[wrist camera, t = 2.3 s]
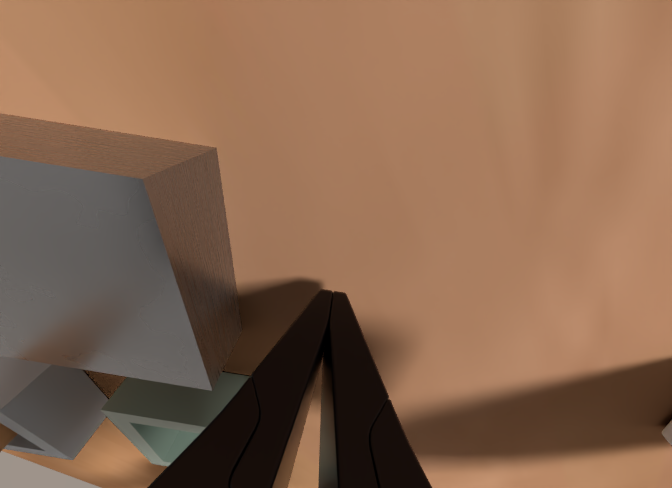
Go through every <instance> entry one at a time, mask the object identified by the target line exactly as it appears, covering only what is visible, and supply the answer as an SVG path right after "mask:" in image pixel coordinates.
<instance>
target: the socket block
mask: <svg viewBox="0 0 672 488" xmlns="http://www.w3.org/2000/svg"><path fill="white" fill-rule="evenodd" d="M107 401H108V399H107V397H106V396H105V395H104V394H103V393H102V392H101V391H100V389H99V388H98V387H97V386H96V385H95V384H94V383H93V381H92V380H91V379H90V378H89V377H88V376H87V375H86V373H85V372H84V371H83V370H82V369H77V368H71V367H65V366H59V365H52V364H46V363H40V362H34V361H28V360H22V359H16V358H10V357H4V356H0V423H1V424H3V425H4V426H6V427H8V428H9V429H11V430H13V431H14V432H16V433H17V435H16V436H15V437H14V438H13V439H12V440H11V441H10V442H9V443H8V444H7V445H6V446H5V447H4V449H8V450H14V451H20V452H26V453H32V454H38V455H44V456H50V457H57V458H63V459H69V460H73V459H74V458H75V457H76V456H77V454H78V453H79V452H80V450H81V449H82V448H83V447H84V445H85V444H86V443H87V441H88V440H89V439H90V437H91V436H92V435H93V434H94V432H95V431H96V430H97V428H98V427H99V426H100V425H101V423H102V422H103V421H104V419H105V418H106V417H107V416H106V415H105V414H104V413H103V412H102V411H101V408H102V407H103V406H104V405H105V404H106V402H107Z"/></svg>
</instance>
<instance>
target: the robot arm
mask: <svg viewBox="0 0 672 488" xmlns="http://www.w3.org/2000/svg"><path fill="white" fill-rule="evenodd" d="M324 346H325V347H324ZM323 352H324V354H323ZM322 358H323V365H322V394H321V425H320V457H319V488H432V487H431V485H430V483H429V481H428V479H427V477H426V475H425V473H424V471H423V469H422V467H421V465H420V463H419V461H418V459H417V457H416V455H415V453H414V451H413V449H412V447H411V445H410V443H409V441H408V439H407V437H406V435H405V432H404V430H403V428H402V426H401V423H400V421H399V419H398V417H397V414H396V412H395V410H394V407H393V405H392V402H391V400H390V399H388V398H389V396H388V393H387V391H386V388H385V386H384V384H383V381H382V379H381V376H380V374H379V371H378V369H377V367H376V364H375V362H374V359H373V357H372V355H371V352H370V350H369V347H368V345H367V343H366V340H365V338H364V335H363V333H362V331H361V328H360V326H359V323H358V321H357V319H356V316H355V314H354V311H353V309H352V307H351V304H350V302H349V299H348V297H347V295H346V293H343V292H337V291H334V292H332V291H331V290H324V289H321V290H319V291H318V293H317V294H316V295H315V296H314V298H313V299H312V300H311V301H310V303H309V304H308V305H307V306H306V308H305V309H304V310H303V311H302V312H301V314H300V315H299V316H298V317H297V319H296V320H295V321H294V322H293V324H292V325H291V326H290V327H289V329H288V330H287V331H286V332H285V334H284V335H283V336H282V337H281V339H280V340H279V341H278V342H277V344H276V345H275V346H274V347H273V349H272V350H271V351H270V352H269V354H268V355H267V356H266V357H265V358H264V360H263V361H262V362H261V363H260V365H259V366H258V367H257V368H256V370H255V371H254V372H253V373H252V377H249V378H248V379H247V381H246V382H245V383H244V384H243V386H242V387H241V388H240V389H239V391H238V392H237V393H236V394H235V395H234V396H233V398H232V399H231V400H230V401H229V402H228V404H227V405H226V406H225V407H224V408H223V409H222V411H221V412H220V413H219V414H218V415H217V416H216V417H215V418H214V419H213V420H212V421H211V422H210V424H209V425H208V426H207V427H206V428H205V429H204V430H203V431H202V432H201V433H200V434H199V435H198V436H197V437H196V438H195V439H194V440H193V441H192V442H191V444H190V445H189V446H188V447H187V448H186V449H185V450H184V451H183V452H182V453H181V454H180V455H179V456H178V457H177V458H176V459H175V460H174V461H173V462H172V463H171V464H170V465H169V466H168V467H167V468H166V469H165V470H164V471H163V472H162V473H161V474H160V475H159V476H158V477H157V478H156V479H155V480H154V481H153V483H152V484H151V485H150V486H149V487H148V488H288V484H289V480H290V477H291V473H292V469H293V466H294V462H295V458H296V455H297V451H298V447H299V444H300V440H301V436H302V433H303V429H304V425H305V422H306V418H307V414H308V411H309V407H310V403H311V400H312V396H313V392H314V389H315V385H316V381H317V378H318V374H319V370H320V367H321V362H322Z"/></svg>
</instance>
